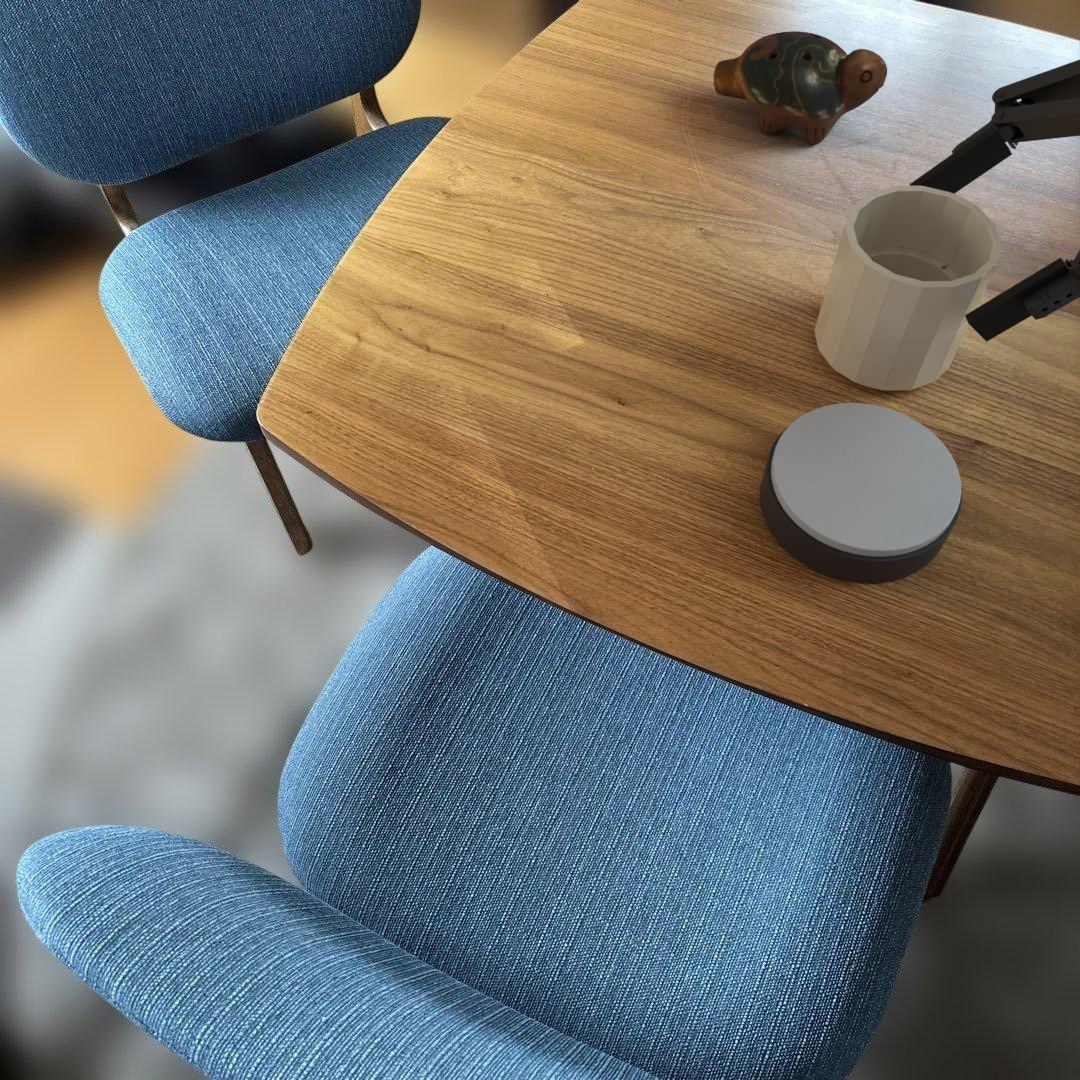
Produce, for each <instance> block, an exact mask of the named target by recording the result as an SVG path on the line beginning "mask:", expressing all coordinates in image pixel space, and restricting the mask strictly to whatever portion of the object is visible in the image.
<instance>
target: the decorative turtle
mask: <svg viewBox="0 0 1080 1080" xmlns="http://www.w3.org/2000/svg"><path fill="white" fill-rule="evenodd" d="M887 76H888V66H887V63H886V61H885V60H884V58H883V57H882V56H880V55H879V54H878V53H876V52H875V51H874V50H873V51H872V50H870V49H866V48H857V49H854V50H852V51H851V52H849V53H847V52H846V51H845V50H844V49H843V48H842V47H841V46H840V45H838V44H837V43H836V42H834V41H833V40H831V39H829V38H827V37H825V36H823V35H820V34H818V33H817V34H816V33H812V32H807V31H799V30H798V31H797V30H796V31H793V30H791V31H782V32H781V31H780V32H775V33H771V34H768V35H765V36H764V35H763V37H760V38H758V39H757V40H754V41H753V42H752V43H750V44H749V46H747V47H746V48H745V49H744V50H743V52H742V53H741V54H740V55H739V56H737V57H735V58H729V59H723V60H720V61H718V62H717V63H716V65H715V67H714V70H713V87H714V91H715V92H716V93H717V94H718V95H721V96H724V97H728V98H734V99H741V100H742V99H743V100H746V101H747V102H748V104H749V105H750V107H751V108H752V109H753V111H754V112H755V117H756V122H757V125H758V128H759V130H760V131H761V133H763V134H764V135H766V136H770V135H773V134H776V133H778V132H780V131H782V130H784V129H786V128H792V127H793V128H795V129H797V130H798V131H799V133H800V135H801V136H802V138H803V139H804V141H805V142H806V143H807V145H810V146H817V145H819V144H820V143H821V142H823V141H824V140H825V138H826V137H827V136H828V134H829V133H830V131H832V129H833V127H834V126H835V125H836V123H837V122H838V121H839V120H840V119H841V118H842V117H843V116H844V115H845V114H847V113H849V112H851V111H853V110H855V109H857V108H859V107H861V105H863V104H865V103H866V102H867V101H869V100H870V99H872V97H873V96H874V95H876V94H877V93H878V92H879V91H880V89H881V88H883V87H884V86H885V83H886V79H887Z"/></svg>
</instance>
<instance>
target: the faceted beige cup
mask: <svg viewBox="0 0 1080 1080" xmlns="http://www.w3.org/2000/svg"><path fill="white" fill-rule="evenodd" d="M841 233H842V234H841V237H840V241H839V245H838V248H837V250H836V254H835V258H834V261H833V264H832V269H831V272H830V275H829V277H828V282H827V285H826V289H825V293H824V295H823V298H822V302H821V306H820V310H819V313H818V315H817V319H816V323H815V326H814V328H813V329H814V336H815V340H816V345H817V350H818V351H819V353H820V354H821V356H822V358H824V359H825V361H826V362H827V363H828V364H829V366H830V367H831V368H832V369H833V370H834V371H835V372H838V373H839V374H840V375H842V376H843V377H845V378H846V379H849V380H850V381H851V382H853V383H856V384H858V385H860V386H864V387H866V388H870V389H873V390H879V391H912V390H916V389H918V388H921V387H924V386H927V385H930V384H932V383H934V382H936V381H937V380H938V379H939V378H940V377H942V375H943V374H944V373H945V372H946V371H948V370H949V369H950V368H951V365H952V364H953V361H954V359H955V357H956V354H957V352H958V349H959V348H960V346H961V343H962V342H963V339H964V338H965V337H964V336H965V335H966V333H967V330H968V329H969V326H970V325H969V324H968V321H967V319H966V317H965V315H966V314H968V313H970V312H971V311H973V310H975V309H976V308H978V307H979V306H980V305H979V304H980V302H981V301H982V298H983V297H984V294H985V291H986V289H987V287H988V285H989V283H990V281H991V278H992V277H993V274H994V272H995V270H996V268H997V266H998V263H999V259H1000V257H1001V251H1002V247H1003V241H1002V238H1001V237H1000V234H999V230H998V228H997V225H996V224H995V222H994V221H993V220H992V219H991V218H990V217H989V216H988V215H987V214H986V213H985V212H984V211H983V210H982V209H981V208H980V207H979V206H978V205H977V204H975V203H973V202H971V201H969V200H967V199H965V198H963V197H961V196H959V195H957V194H956V193H955V194H954V193H951V192H947V191H943V190H939V189H934V188H930V187H926V186H910V185H894V186H893V185H892V186H889V187H886V188H883V189H880V190H876V191H873V192H869V193H868V194H866V195H865V196H864V197H862V198H861V199H860V200H858V201H857V202H856V203H855V204H854V205H852V206H851V208H850V210H849V213H848V216H847V218H846V222H845V224H844V227H843V231H842V232H841Z"/></svg>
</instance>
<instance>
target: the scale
mask: <svg viewBox="0 0 1080 1080" xmlns="http://www.w3.org/2000/svg"><path fill="white" fill-rule="evenodd" d="M962 502H963V489H962V481H961V475H960V472H959V469H958V466H957V464H956V461H955V459H954V458H953V455H952V453H951V452H950V450H949V449H948V448H947V447H946V445H945V444H944V443H943V441H941V439H939V437H938V436H937V435H936V434H935V433H934V432H932V431H931V430H930V429H929V428H927V427H926V426H925V425H923V424H922V423H921V422H919V421H917V420H915V418H912V417H911V416H909V415H906V414H905V413H902V412H899V411H897V410H894V409H891V408H888V407H885V406H880V405H876V404H870V403H863V402H841V403H833V404H829V405H825V406H821V407H817V408H816V409H813V410H810V411H808V412H806V413H805V414H802V415H801V416H800V417H798V418H796V419H795V420H794V421H793V422H791V423H790V425H788V426H787V427H786V428H785V429H784V430H783V431H782V432H781V433H780V434H779V435H778V437H777V438H776V439H775V441H774V442H773V444H772V446H771V448H770V451H769V453H768V456H767V460H766V463H765V467H764V471H763V474H762V478H761V482H760V487H759V504H760V509H761V514H762V516H763V517H762V518H763V519H764V522H765V524H766V526H767V528H768V529H769V531H770V533H771V535H772V536H773V537H774V539H775V540H776V541H777V543H778V544H779V545H780V546H781V547H782V548H783V549H784V551H786V552H787V553H788V554H789V555H790V556H791V557H793V558H794V559H795V560H797V561H798V562H800V563H801V564H802V565H803V566H805V567H807V568H809V569H811V570H813V571H815V572H817V573H818V574H821V575H824V576H827V577H828V578H829V577H830V578H833V579H836V580H838V581H839V580H840V581H843V582H849V583H857V584H882V583H888V582H889V583H890V582H893V581H897V580H901V579H904V578H907V577H908V576H911V575H913V574H915V573H917V572H919V571H920V570H923V568H924V567H926V566H928V564H929V563H931V562H932V561H933V560H934V559H935V558H936V556H937V555H938V554H939V553H940V552H941V550H942V548H943V546H945V543H946V541H947V539H948V537H950V535H951V532H952V531H953V529H954V527H955V525H956V524H957V522H958V519H959V516H960V513H961V510H962V504H963V503H962Z"/></svg>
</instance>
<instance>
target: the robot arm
mask: <svg viewBox="0 0 1080 1080" xmlns="http://www.w3.org/2000/svg"><path fill="white" fill-rule="evenodd" d="M1018 100H1019V101H1018ZM991 101H992V102H993V103H994V113H993V114H992V116H991V119H990V121H989V122H987V123H986V124H985V125H983V126H982V127H980V128H979V129H977V130H976V131H975V132H973V133H972V134H971V135H969V136H968V137H966V138H965V139H964V140H962V141H961V142H959V143H957V144H956V145H955V146H954V148H953V149H952V150H951V154H950V155H948V156H947V157H946V158H944V159H943V160H942V161H940V162H939V163H937V164H936V165H934V166H933V167H932V168H930V169H929V170H928V171H926V172H925V173H923V174H922V175H921V176H920V175H919V177H918V178H915V180H913V181H912V182H911V183H909V185H908V186H926V187H930V188H934V189H939V190H943V191H947V192H951V193H954V194H956V193H958V192H959V191H960V190H963V188H965V187H967V186H968V185H970V184H971V183H972V182H974V181H975V180H977V179H978V178H980V177H981V176H983V175H984V174H986V173H987V172H989V171H990V170H991V169H993V168H994V167H996V166H997V165H999V164H1000V163H1002V162H1003V161H1005V160H1007V159H1008V158H1009V157H1011V156H1013V153H1012V151H1011V149H1012V150H1016V149H1017V146H1018V145H1019V143H1024V142H1034V141H1044V140H1053V139H1063V138H1073V137H1079V136H1080V59H1077V60H1074V61H1071V62H1068V63H1066V64H1062V65H1060V66H1057V67H1054V68H1051V69H1048V70H1046V71H1043V72H1041V73H1037V74H1034V75H1031V76H1029V77H1026V78H1023V79H1021V80H1018V81H1014V82H1012V83H1009V84H1007V85H1003V86H1001V87H999V88H997V89H996V90H994V92H993V94H992V95H991ZM1008 145H1009V146H1008ZM1010 148H1011V149H1010ZM1079 298H1080V249H1079V250H1078V252H1077V254H1076V256H1075V257H1074V258H1073V259H1067V258H1065V261H1064V260H1063V259H1062V258H1061V257H1059V258H1057V259H1056V260H1054V261H1052V262H1051V263H1049V264H1047V265H1046V266H1044V267H1042V268H1040V269H1039V270H1037V271H1036V272H1034V273H1032V274H1031V275H1029V276H1027V277H1026V278H1024V279H1022V280H1021V281H1019V282H1018V283H1016V284H1014V285H1013V286H1011V287H1009V288H1008V289H1006V290H1004V291H1003V292H1001V293H999V294H998V295H996V296H994V297H993V298H991V299H989V300H988V301H986V302H984V303H983V304H981V305H978V307H977V308H976V309H975V310H973V311H971V312H970V313H968V314H966V315H965V317H966V319H967V321H968V324H969V326H970V327H971V328H972V329H973V330H974V331H975V332H976V333H977V334H978V335H979V336H980V337H981V338H982V339H983V340H984V341H985V342H986V343H987V342H989V341H991V340H992V339H995V338H996V337H998V336H999V335H1001V334H1003V333H1004V332H1006V331H1009V330H1010V329H1011V328H1014V327H1015V326H1017V325H1018V324H1020V323H1022V322H1023V321H1026V320H1027V319H1029V318H1031V317H1032V318H1033V319H1034V320H1035V321H1037V320H1042V319H1045V318H1047V317H1048V316H1049V315H1052V314H1053V313H1055V312H1056V311H1059V309H1062V308H1064V307H1065V306H1067V305H1069V304H1070V303H1072V302H1074V301H1076V300H1077V299H1079Z"/></svg>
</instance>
